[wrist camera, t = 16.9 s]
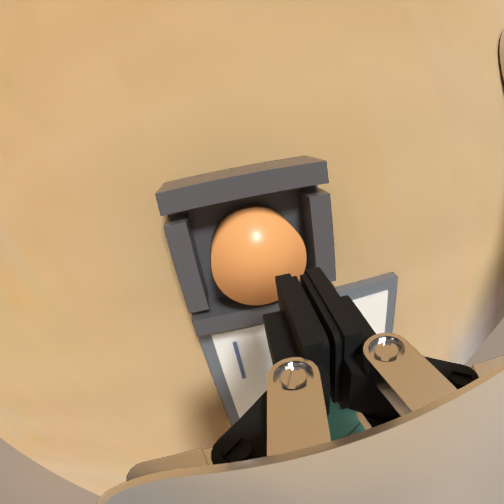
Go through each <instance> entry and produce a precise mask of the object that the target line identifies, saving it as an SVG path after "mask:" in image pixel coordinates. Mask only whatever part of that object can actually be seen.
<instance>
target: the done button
mask: <svg viewBox="0 0 504 504" xmlns="http://www.w3.org/2000/svg"><path fill="white" fill-rule="evenodd" d="M210 247H211V268H212V274H213V277H214V280H215V282H216V284H217V286H218V287H219V288H220V290H221V291H222V292H223V293H224V294H225V295H227V296H228V297H229V298H231V299H232V300H234V301H237V302H239V303H242V304H247V305H264V304H269V303H272V302H275V301H277V300H278V295H277V289H276V282H275V276H279V275H283V274H288V273H290V274H291V276H292V277H293V276H297V278H298V280H299V281H300V275H302V274H304V271H305V267H306V260H307V256H306V248H305V245H304V242H303V240H302V238H301V237H300V235H299V234H298V232H297V231H296V230H295V229H294V228H293V227H292V226H291V225H290V223H289V222H288V221H287V220H286V219H285V218H284V217H283V216H282V215H281V214H280V213H278V212H277V211H275V210H274V209H271V208H269V207H265V206H260V205H249V206H243V207H240V208H237V209H235V210H233V211H231V212H230V213H228V214H227V215H226V216H224V217H223V218H222V219H221V221H220V222H219V223H218V224H217V226H216V228H215V230H214V232H213V234H212V238H211V245H210Z"/></svg>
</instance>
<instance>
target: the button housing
mask: <svg viewBox="0 0 504 504" xmlns="http://www.w3.org/2000/svg"><path fill="white" fill-rule="evenodd" d="M324 183H329V180H328V171H327V162H326V161H325V160H321V159H317V158H313V157H309V156H301V157H294V158H287V159H281V160H275V161H269V162H263V163H257V164H252V165H246V166H241V167H236V168H231V169H225V170H221V171H216V172H211V173H206V174H201V175H197V176H192V177H188V178H184V179H179V180H175V181H171V182H167V183H164V184H163V185H162V186H161V188H160V189H159V190H158V191H157V192H156V194H155V195H156V199H157V203H158V207H159V211H160V215H161V216H164V215H168V218H167V221H166V223H165V225H164V230H165V234H166V237H167V241H168V245H169V248H170V252H171V255H172V259H173V262H174V265H175V269H176V272H177V275H178V279H179V282H180V285H181V289H182V292H183V295H184V298H185V301H186V304H187V307H188V311H189V313H192V323H193V326H194V329H195V331H196V334H197V337H198V336H203V335H208V334H213V333H218V332H223V331H228V330H233V329H238V328H242V327H247V326H252V325H256V324H261V323H264V322H263V315H262V314H267V313H272V312H276V311H280V309H279V302H278V300H277V301H275V302H272V303H269V304H264V305H247V304H242V303H239V302H237V301H234V300H232V299H231V298H229V297H228V296H227V295H225V294H224V293H223V292H222V291H221V290H220V288H219V287H218V286H217V284H216V282H215V280H214V277H213V274H212V268H211V247H210V245H211V238H212V234H213V232H214V230H215V228H216V226H217V224H218V223H219V222H220V221H221V219H222V218H223V217H224V216H226V215H227V214H228V213H230V212H231V211H233V210H235V209H237V208H240V207H243V206H249V205H260V206H265V207H269V208H271V209H274V210H275V211H277V212H278V213H280V214H281V215H282V216H283V217H284V218H285V219H286V220H287V221H288V222H289V223H290V225H291V226H292V227H293V228H294V229H295V230H296V231H297V232H298V234H299V235H300V237H301V238H302V240H303V242H304V245H305V248H306V256H307V260H306V267H305V270H307V269H312V268H316V267H320V268H321V270H322V271H323V272H324V274H325V275H326V277H327V278H328V280H329V281H330V282H331V281H335V280H336V271H335V252H334V237H333V223H332V211H331V200H330V193H328V192H326V191H324V190H322V189H320V188H318V187H317V185H318V184H324ZM299 282H300V281H299ZM331 284H332V283H331ZM332 285H333V284H332ZM333 287H334V288H335V286H334V285H333ZM335 290H336V288H335Z"/></svg>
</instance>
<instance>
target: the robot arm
mask: <svg viewBox="0 0 504 504" xmlns="http://www.w3.org/2000/svg"><path fill="white" fill-rule="evenodd" d="M499 53H500V64H501V70H502V75H503V80H504V31H503V33H502V35H501V39H500V49H499ZM275 282H276V289H277V295H278V302H279V309H280V311H276V312H272V313H267V314H262V315H263V322H264V327H265V332H266V337H267V342H268V347H269V351H270V355H271V359H272V363H273V366H272V367H271V369H270V370H269V372H268V376H267V390H266V391H265V392H264V393H263V394H262V396H261V397H260V398H259V399H258V400H257V401H256V402H255V403H254V404H253V405H252V406H251V407H250V408H249V409H248V410H247V411H246V412H245V414H244V415H243V416H242V417H241V418H240V419H239V420H238V421H237V422H236V423H235V424H234V425H233V426H232V427H231V428H230V429H229V430H228V431H227V432H226V433H225V434H224V435H223V436H222V437H221V438H220V439H218V441H217V442H216V443H215V444H214V446H213V447H211V448H208V449H204V450H202V448H201V447H200V448H197V449H193V450H190V451H186V452H182V453H179V454H175V455H171V456H167V457H163V458H159V459H154V460H150V461H145V462H141V463H139V464H136V465H135V466H134V467H132V468H131V469H130V470H129V472H128V474H127V478H126V482H124V483H121V484H119V485H117V486H115V487H113V488H111V489H109V490H108V491H106V492H105V493H104V494H103V495H102V496H101V497H100V498H99V500H98V501H97V502H96V504H504V355H503V356H500V357H497V358H494V359H491V360H487V361H484V362H481V363H477V364H473V365H472V368H470V367H468V366H465V365H461V364H456V363H451V362H447V361H442V360H438V359H433V358H429V357H424V356H423V355H421V354H420V353H419V352H418V351H417V350H416V349H415V348H414V347H413V346H412V345H411V344H410V343H409V342H408V341H407V340H406V339H404V338H403V337H401V336H400V335H397V334H394V333H379V334H376V333H375V331H374V330H373V329H372V327H371V326H370V324H369V323H368V322H367V320H366V319H365V317H364V316H363V315H362V313H361V312H360V310H359V309H358V308H357V306H356V305H355V303H354V302H353V301H352V299H351V298H350V297H349V296H348V295H345V296H341V297H340V295H339V294H338V292H337V291H336V290H335V288H334V287H333V285H332V284H331V282H330V281H329V280H328V278H327V277H326V275H325V274H324V272H323V271H322V270H321V268H320V267H316V268H312V269H307V270H305V271H304V274H302V275H300V282H299V280H298V278H297V276H293V277H292V276H291V274H290V273H288V274H283V275H279V276H275ZM330 397H331V400H332V402H333V403H336V402H338V403H339V406H340V408H341V410H342V409H346V408H348V409H351V410H354V411H356V415H357V417H358V419H359V421H360V422H361V424H362V425H363V427H364V428H365V430H364V431H361V432H358V433H355V434H352V435H349V436H346V437H343V438H340V439H336V440H333V441H331V438H330V431H329V425H328V419H327V417H328V415H329V412H330Z"/></svg>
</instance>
